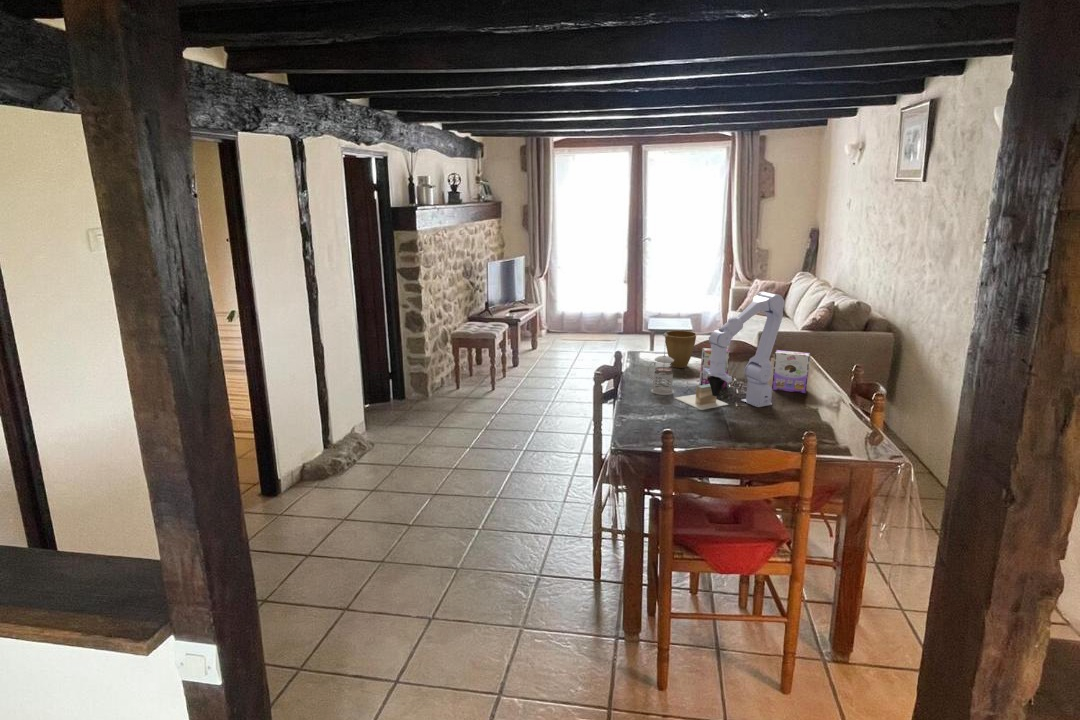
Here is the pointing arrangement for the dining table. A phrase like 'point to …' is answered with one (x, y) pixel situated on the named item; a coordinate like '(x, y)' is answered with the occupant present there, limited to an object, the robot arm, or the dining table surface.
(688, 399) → the mat
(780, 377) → the candy box
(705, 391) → the slab
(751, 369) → the robot arm
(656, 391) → the french press
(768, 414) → the dining table surface
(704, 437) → the dining table surface
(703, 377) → the candy bar box
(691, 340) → the plant pot
